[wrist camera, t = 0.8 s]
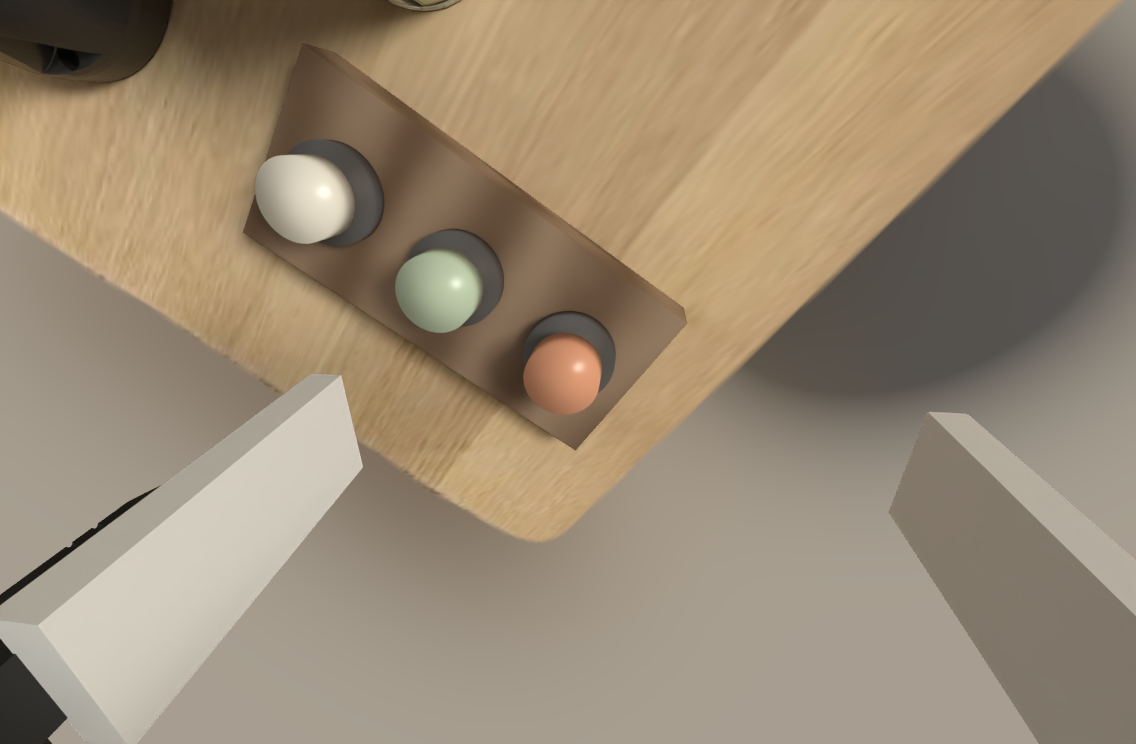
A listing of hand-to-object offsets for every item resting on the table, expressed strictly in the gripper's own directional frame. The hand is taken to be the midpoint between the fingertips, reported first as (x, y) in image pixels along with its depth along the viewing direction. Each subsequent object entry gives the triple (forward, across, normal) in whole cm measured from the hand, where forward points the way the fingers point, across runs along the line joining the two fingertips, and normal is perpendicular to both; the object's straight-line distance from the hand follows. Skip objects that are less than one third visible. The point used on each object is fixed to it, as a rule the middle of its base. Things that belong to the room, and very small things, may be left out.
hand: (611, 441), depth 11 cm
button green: (+17, -10, -2) cm, 20 cm away
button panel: (+22, -10, -2) cm, 24 cm away
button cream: (+17, -17, +3) cm, 25 cm away
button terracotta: (+17, -3, -6) cm, 18 cm away
